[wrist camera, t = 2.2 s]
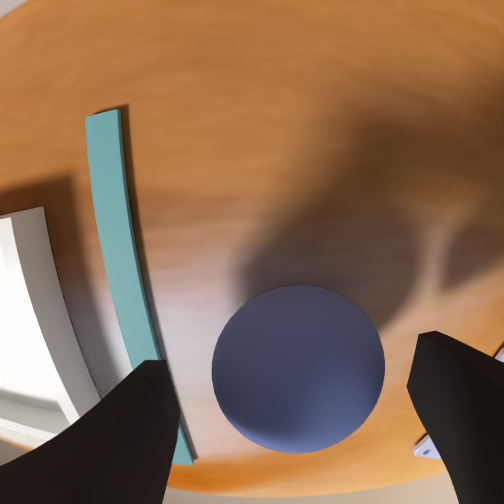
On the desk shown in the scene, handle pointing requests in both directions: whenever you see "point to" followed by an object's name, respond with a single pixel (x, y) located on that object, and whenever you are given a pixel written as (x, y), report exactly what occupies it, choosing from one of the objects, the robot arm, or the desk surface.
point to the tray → (37, 335)
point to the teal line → (122, 245)
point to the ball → (298, 369)
